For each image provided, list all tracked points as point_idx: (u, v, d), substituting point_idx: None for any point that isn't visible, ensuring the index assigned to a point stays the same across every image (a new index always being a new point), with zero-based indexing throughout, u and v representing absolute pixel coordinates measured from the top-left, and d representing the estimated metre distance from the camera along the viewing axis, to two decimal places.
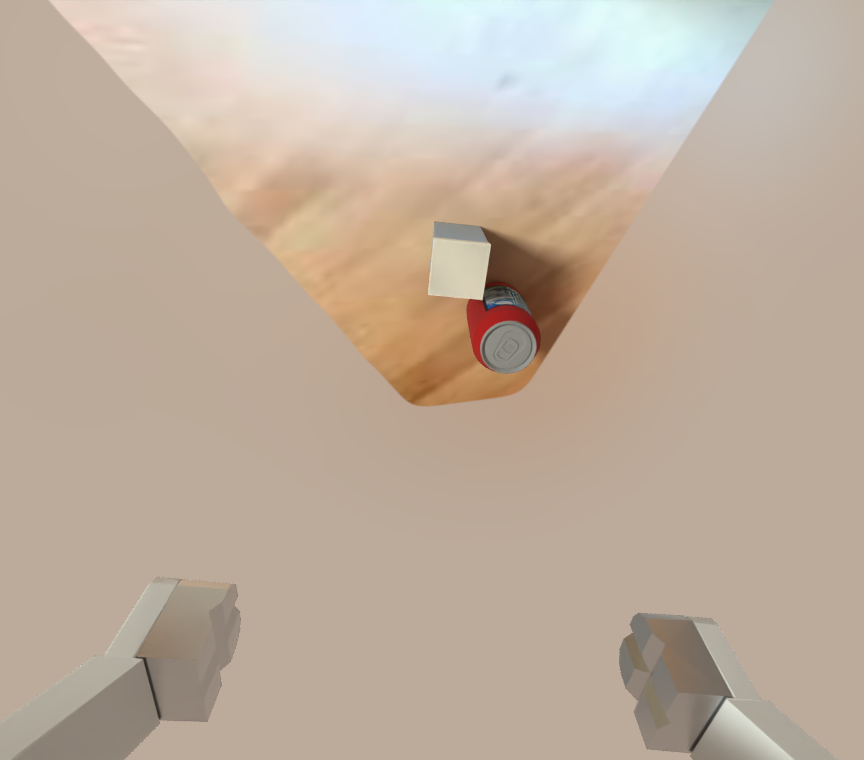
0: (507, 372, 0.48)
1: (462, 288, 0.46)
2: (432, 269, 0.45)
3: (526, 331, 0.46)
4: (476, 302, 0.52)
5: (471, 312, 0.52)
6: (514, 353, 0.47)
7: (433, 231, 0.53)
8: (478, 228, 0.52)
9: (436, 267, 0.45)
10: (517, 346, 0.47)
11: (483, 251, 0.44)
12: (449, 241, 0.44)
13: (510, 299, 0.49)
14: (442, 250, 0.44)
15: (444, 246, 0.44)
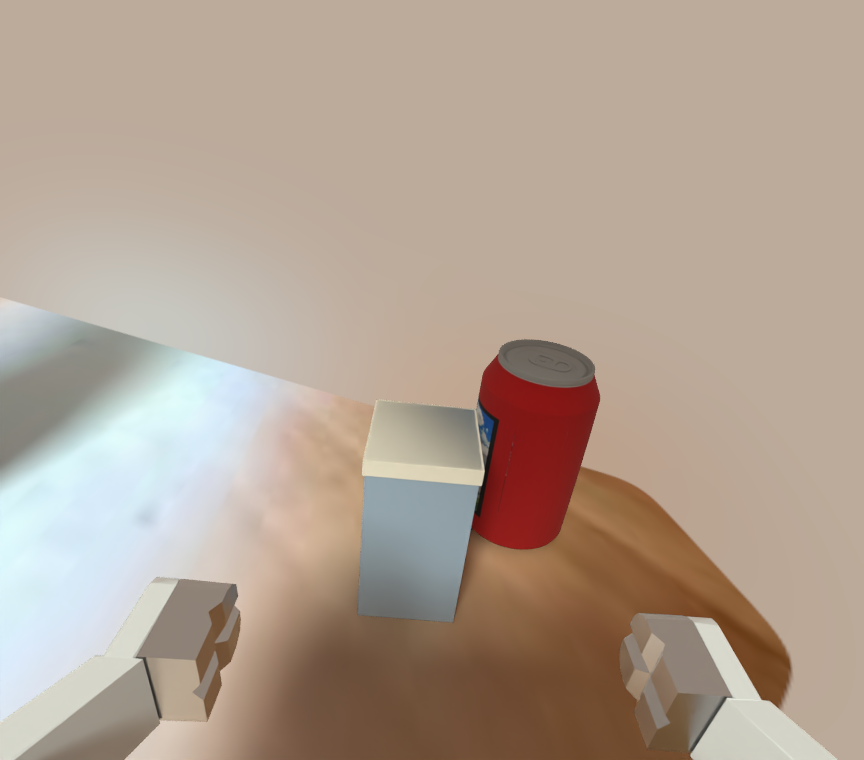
0: (589, 360, 0.28)
1: (461, 428, 0.24)
2: (428, 463, 0.21)
3: (510, 349, 0.29)
4: (496, 491, 0.28)
5: (515, 489, 0.27)
6: (551, 357, 0.28)
7: (376, 615, 0.25)
8: None
9: (423, 458, 0.21)
10: (539, 355, 0.28)
11: (388, 406, 0.25)
12: (369, 442, 0.22)
13: None
14: (387, 449, 0.21)
15: (379, 447, 0.22)
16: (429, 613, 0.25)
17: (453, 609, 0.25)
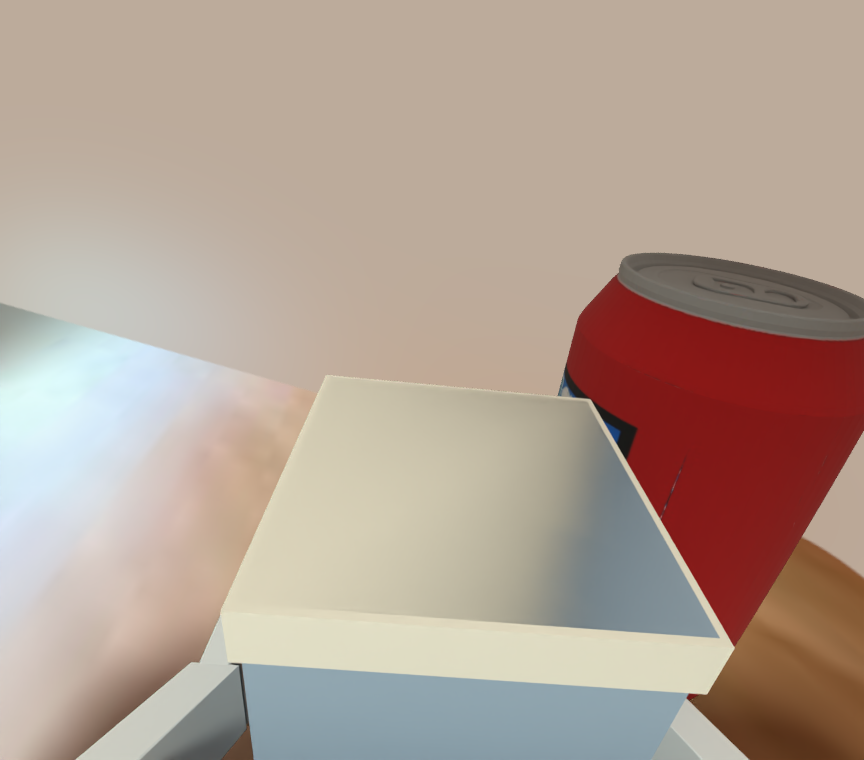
0: (832, 287, 0.12)
1: (572, 456, 0.08)
2: (497, 614, 0.05)
3: (638, 270, 0.13)
4: None
5: None
6: (739, 282, 0.12)
7: None
8: None
9: (474, 585, 0.05)
10: (708, 279, 0.12)
11: (357, 391, 0.09)
12: (274, 515, 0.06)
13: None
14: (334, 548, 0.06)
15: (305, 537, 0.06)
16: None
17: None
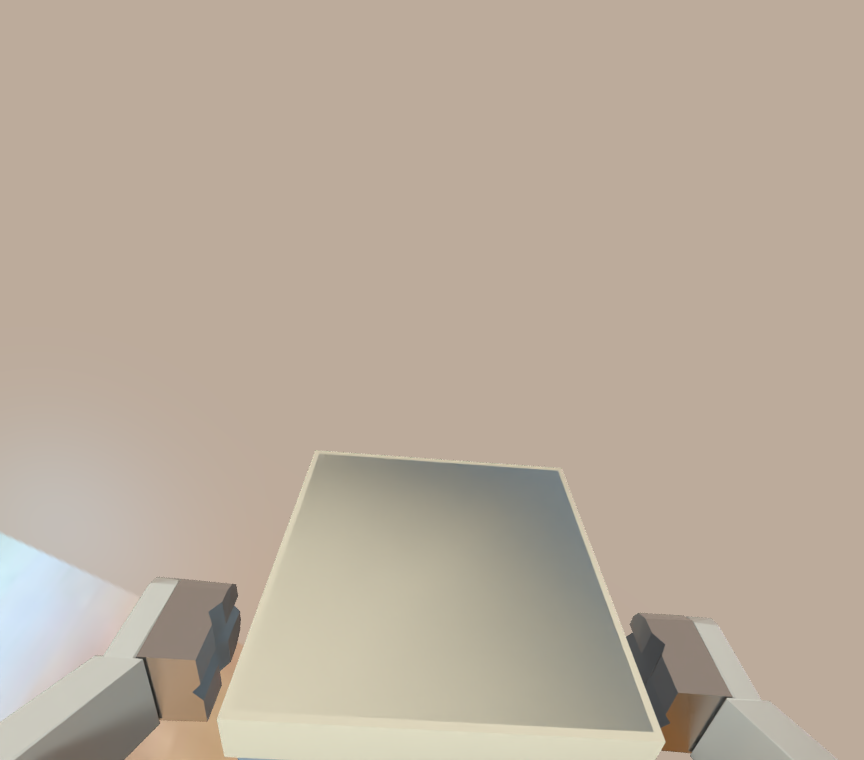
0: None
1: (538, 535, 0.09)
2: (458, 714, 0.06)
3: None
4: None
5: None
6: None
7: None
8: None
9: (439, 684, 0.06)
10: None
11: (343, 469, 0.10)
12: (265, 612, 0.07)
13: None
14: (318, 648, 0.06)
15: (292, 636, 0.06)
16: None
17: None
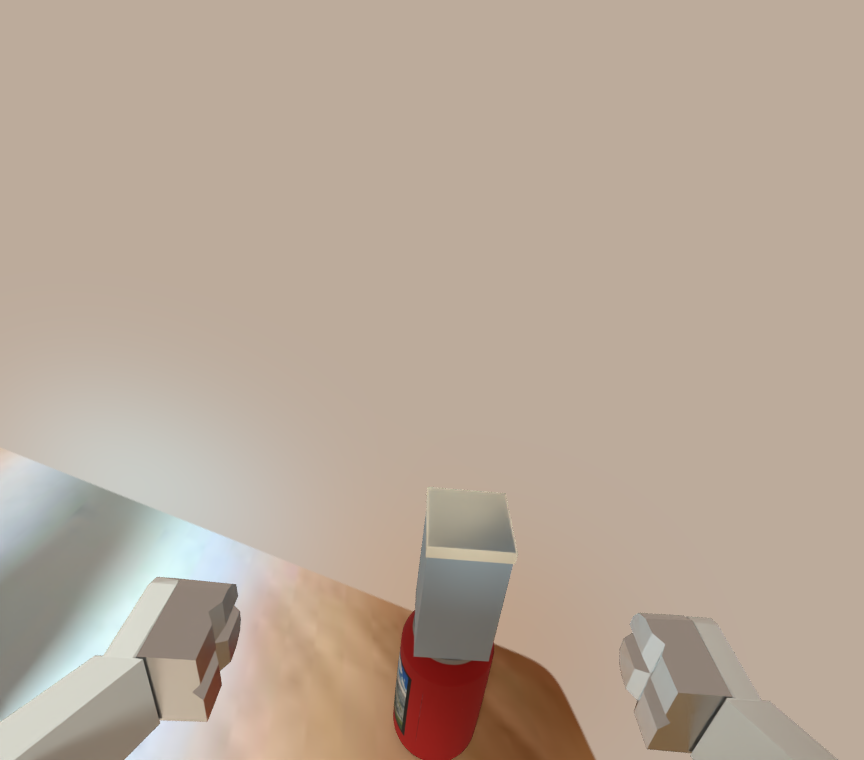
0: None
1: (496, 513, 0.31)
2: (475, 548, 0.28)
3: None
4: (413, 724, 0.35)
5: (427, 726, 0.35)
6: None
7: (429, 656, 0.32)
8: (417, 582, 0.36)
9: (470, 543, 0.28)
10: None
11: (438, 493, 0.32)
12: (428, 529, 0.29)
13: None
14: (443, 536, 0.28)
15: (436, 534, 0.28)
16: (470, 654, 0.32)
17: (489, 651, 0.32)
